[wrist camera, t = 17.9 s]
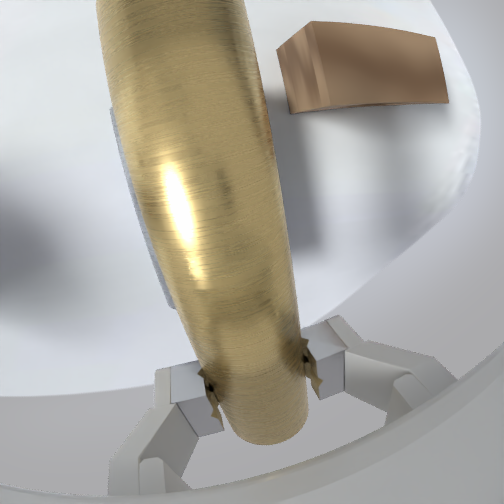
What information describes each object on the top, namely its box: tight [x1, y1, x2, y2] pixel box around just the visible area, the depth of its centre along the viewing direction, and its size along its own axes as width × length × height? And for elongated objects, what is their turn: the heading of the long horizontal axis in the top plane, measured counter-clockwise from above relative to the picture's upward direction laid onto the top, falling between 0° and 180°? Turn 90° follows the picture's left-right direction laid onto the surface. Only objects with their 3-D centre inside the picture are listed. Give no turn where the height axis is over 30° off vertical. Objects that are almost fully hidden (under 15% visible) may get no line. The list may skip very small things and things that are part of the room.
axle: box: [96, 0, 308, 445], centre depth 7 cm, size 13×3×3 cm, turn 12°
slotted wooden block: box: [276, 21, 449, 114], centre depth 16 cm, size 5×10×6 cm, turn 102°
